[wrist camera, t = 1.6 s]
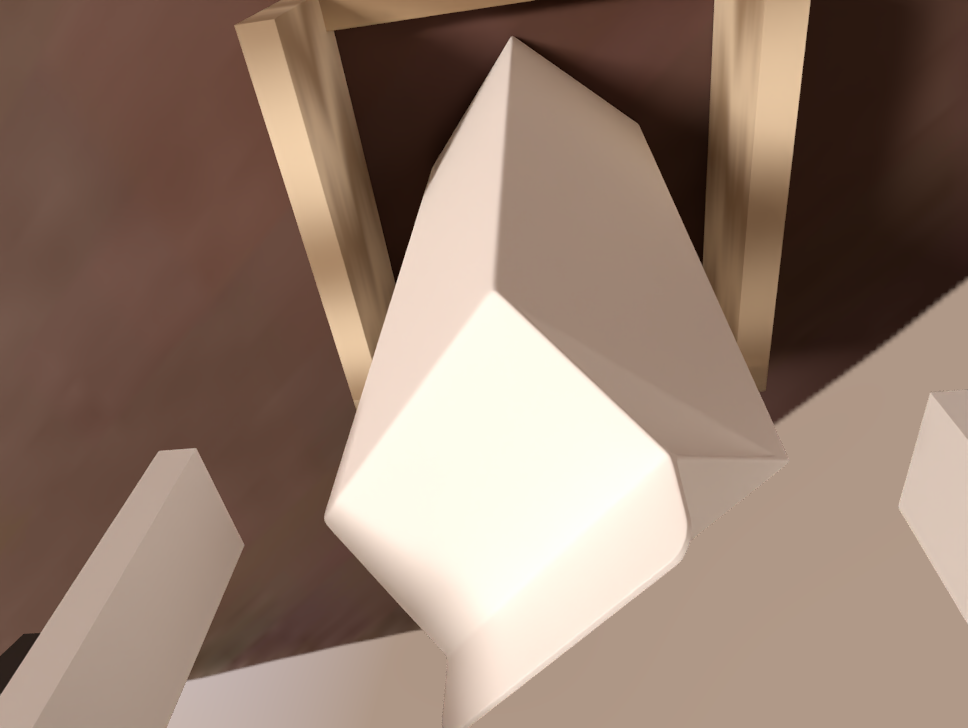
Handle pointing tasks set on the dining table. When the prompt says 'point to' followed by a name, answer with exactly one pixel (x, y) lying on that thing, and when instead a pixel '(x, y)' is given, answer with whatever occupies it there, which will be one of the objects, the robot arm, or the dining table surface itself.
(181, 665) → the robot arm
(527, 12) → the dining table surface
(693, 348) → the milk
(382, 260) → the shelf bay
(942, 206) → the dining table surface
